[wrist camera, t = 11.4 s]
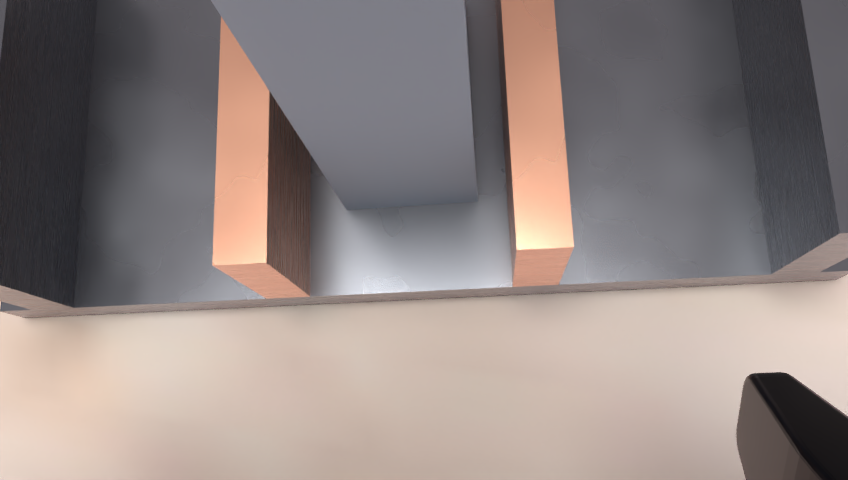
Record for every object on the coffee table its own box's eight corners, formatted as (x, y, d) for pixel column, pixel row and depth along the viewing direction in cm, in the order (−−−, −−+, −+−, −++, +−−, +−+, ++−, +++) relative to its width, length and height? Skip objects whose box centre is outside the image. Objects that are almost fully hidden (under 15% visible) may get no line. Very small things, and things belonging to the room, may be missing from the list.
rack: (835, 279, 18) (946, 228, 13) (24, 317, 19) (-113, 282, 15) (778, -71, 20) (858, -212, 16) (55, -13, 21) (-56, -128, 17)
